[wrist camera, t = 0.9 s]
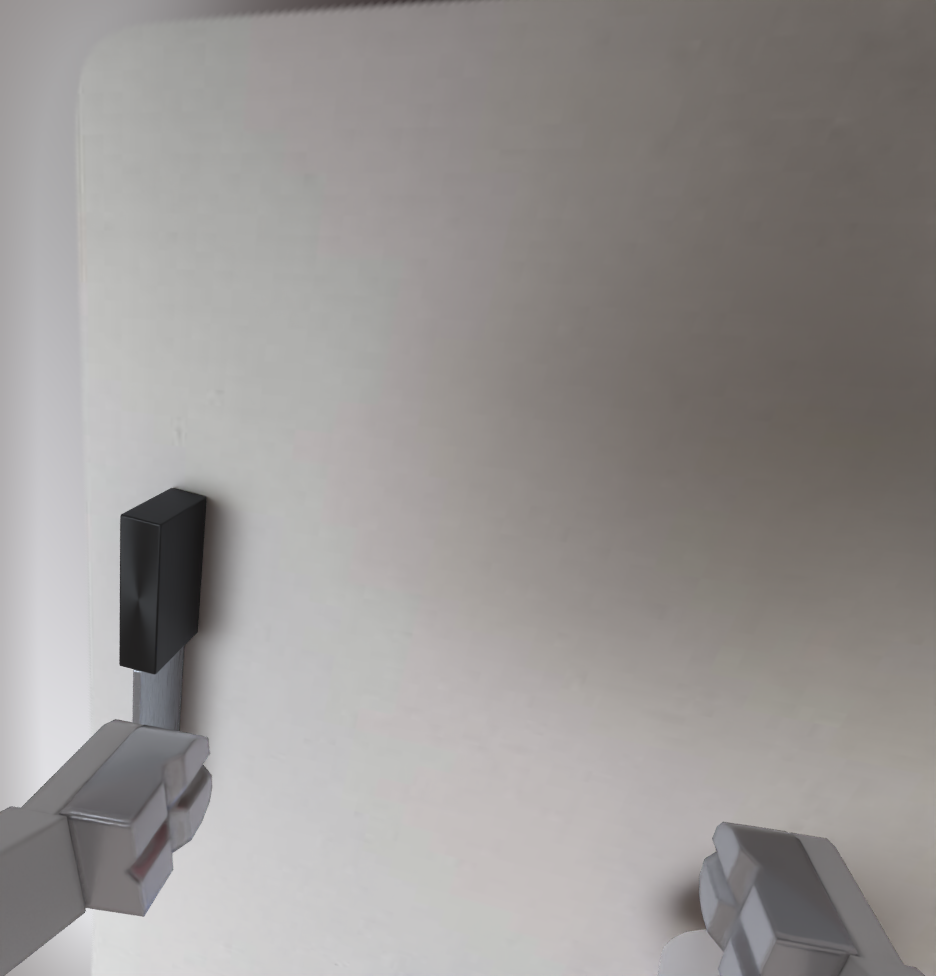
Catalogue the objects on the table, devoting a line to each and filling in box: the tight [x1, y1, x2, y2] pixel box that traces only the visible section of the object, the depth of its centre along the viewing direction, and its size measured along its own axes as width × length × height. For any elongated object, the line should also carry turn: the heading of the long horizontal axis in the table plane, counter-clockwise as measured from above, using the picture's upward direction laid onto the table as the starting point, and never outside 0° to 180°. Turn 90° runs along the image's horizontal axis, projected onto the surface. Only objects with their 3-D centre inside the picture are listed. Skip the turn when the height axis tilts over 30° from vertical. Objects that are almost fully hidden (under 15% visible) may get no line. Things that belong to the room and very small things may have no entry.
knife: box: [120, 488, 206, 731], centre depth 27 cm, size 19×2×4 cm, turn 167°
